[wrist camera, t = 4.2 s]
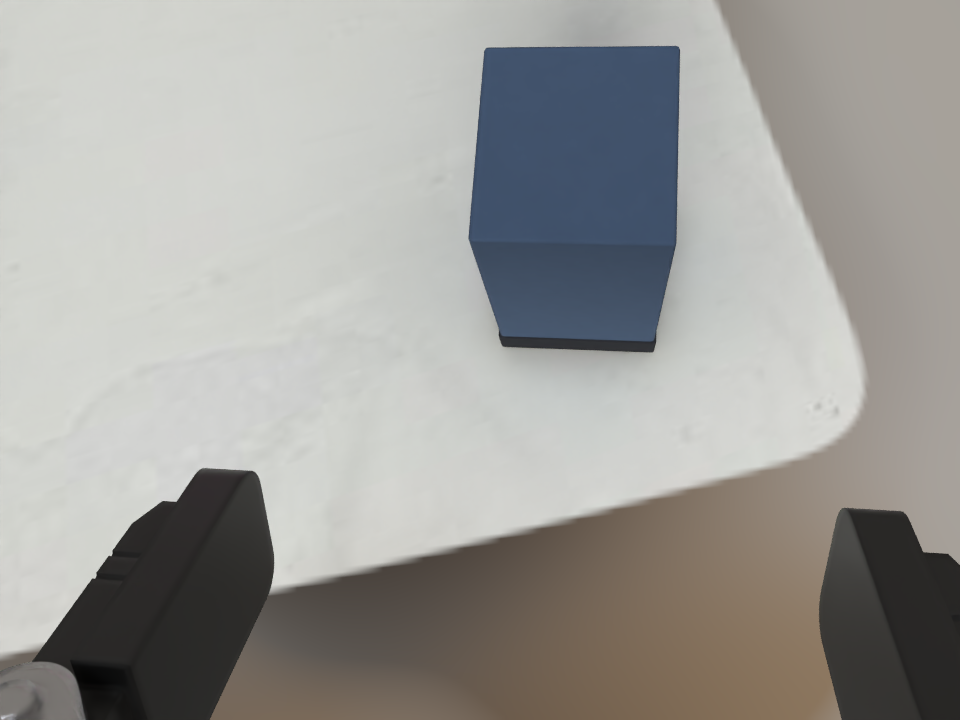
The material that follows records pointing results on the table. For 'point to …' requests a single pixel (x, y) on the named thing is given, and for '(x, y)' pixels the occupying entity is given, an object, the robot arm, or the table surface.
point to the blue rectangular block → (577, 193)
